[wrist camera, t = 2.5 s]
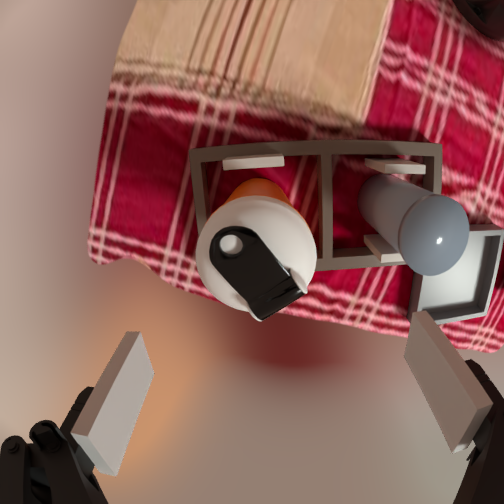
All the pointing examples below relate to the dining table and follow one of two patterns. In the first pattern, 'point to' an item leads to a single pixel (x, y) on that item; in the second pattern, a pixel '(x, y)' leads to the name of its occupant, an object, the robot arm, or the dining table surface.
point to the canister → (415, 222)
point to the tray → (461, 280)
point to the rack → (324, 185)
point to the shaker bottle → (256, 250)
